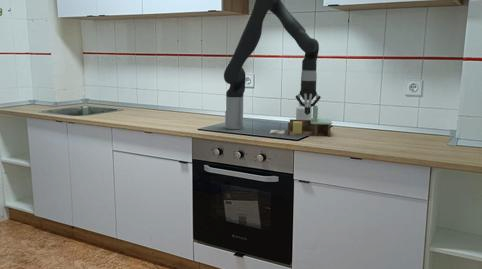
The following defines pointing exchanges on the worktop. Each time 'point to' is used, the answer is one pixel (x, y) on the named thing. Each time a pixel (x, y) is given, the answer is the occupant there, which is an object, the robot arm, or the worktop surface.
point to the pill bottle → (302, 112)
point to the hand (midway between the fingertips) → (307, 114)
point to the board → (305, 129)
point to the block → (297, 127)
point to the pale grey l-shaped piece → (319, 121)
